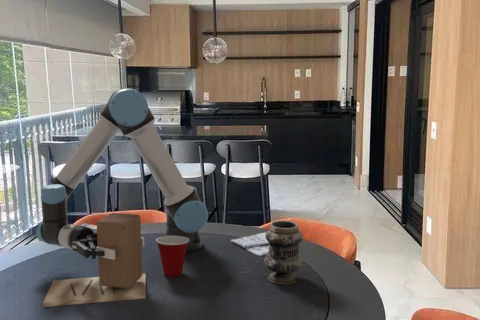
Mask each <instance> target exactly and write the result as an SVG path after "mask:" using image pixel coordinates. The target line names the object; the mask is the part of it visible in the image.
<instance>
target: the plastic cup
mask: <svg viewBox="0 0 480 320" xmlns="http://www.w3.org/2000/svg"><path fill="white" fill-rule="evenodd" d="M155 241H156V244H157V246H158V250H159V255H160V256H159V257H160V261H161V265H162V271H163V274H164V277H165V276H166V277H168V278H177V277H180V276H182V274H183V271H184V264H185V258H186V253H187V252H186V248H187V244H188V242H189V238H187V237H183V236H164V235H163V236H160V237H157V238H156V239H155Z"/></svg>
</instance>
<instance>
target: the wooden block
mask: <svg viewBox="0 0 480 320" xmlns="http://www.w3.org/2000/svg"><path fill="white" fill-rule="evenodd" d="M141 223H142V222H141V216H140V215H139V214H135V213H134V214H132V213H117V212H116V213H115V212H112V213H109V214H108V215H106V216H104V217H102V218H100V219H98V220H97V221H96V225H97V243H98V246H99V247H104V248H108V249H113V250H115V259H114V260H112V259H108V258H103V257H99V256H97V261H98V277H99V283H100V285H101V286H109V287H121V288H130V287H131V286H132V285H133V284H134V283H135V282H136V281H138V280H139V279H140V278H141V277H142V274H143V260H142V259H143V258H142V256H143V253H142V247H141V237H142V230H141V228H142V227H141V225H142V224H141Z"/></svg>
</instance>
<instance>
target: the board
mask: <svg viewBox="0 0 480 320" xmlns="http://www.w3.org/2000/svg"><path fill="white" fill-rule="evenodd" d="M146 275H147V274H146V272H145V273H142V277H141V278H140V279H139V280H138V281H136V282H135V283H134V284H133V285H132V286H131V287H130V288H121V287H109V286H101V285H100V283H99V276H96V277H95V276H94V277H82V278H80V277H79V278H69V279H68V278H66V279H54V280H53V281H52V283H51V285H50V287H49V289H48V291H47V294H46V295H45V297H44V300H43V302H42V307H43V308H46V307H57V306H58V307H60V306H71V305H80V304H82V305H83V304H92V303H104V302H105V303H106V302H116V301H119V302H120V301H128V300H129V301H130V300H139V299H140V300H141V299H146V297H147V296H146V295H147V293H146V291H147V290H146V286H147V285H146V284H147V282H146V279H147V278H146Z"/></svg>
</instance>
